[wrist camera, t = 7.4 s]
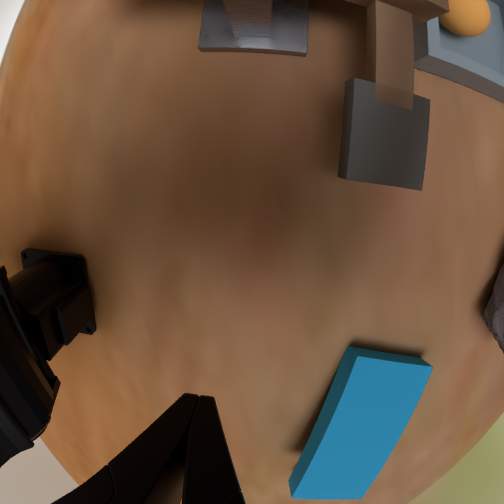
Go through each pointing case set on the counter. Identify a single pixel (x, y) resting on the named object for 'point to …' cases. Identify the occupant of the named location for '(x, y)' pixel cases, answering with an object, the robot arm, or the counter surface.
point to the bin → (464, 53)
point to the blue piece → (359, 424)
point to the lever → (388, 99)
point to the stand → (255, 26)
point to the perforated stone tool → (496, 310)
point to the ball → (467, 17)
